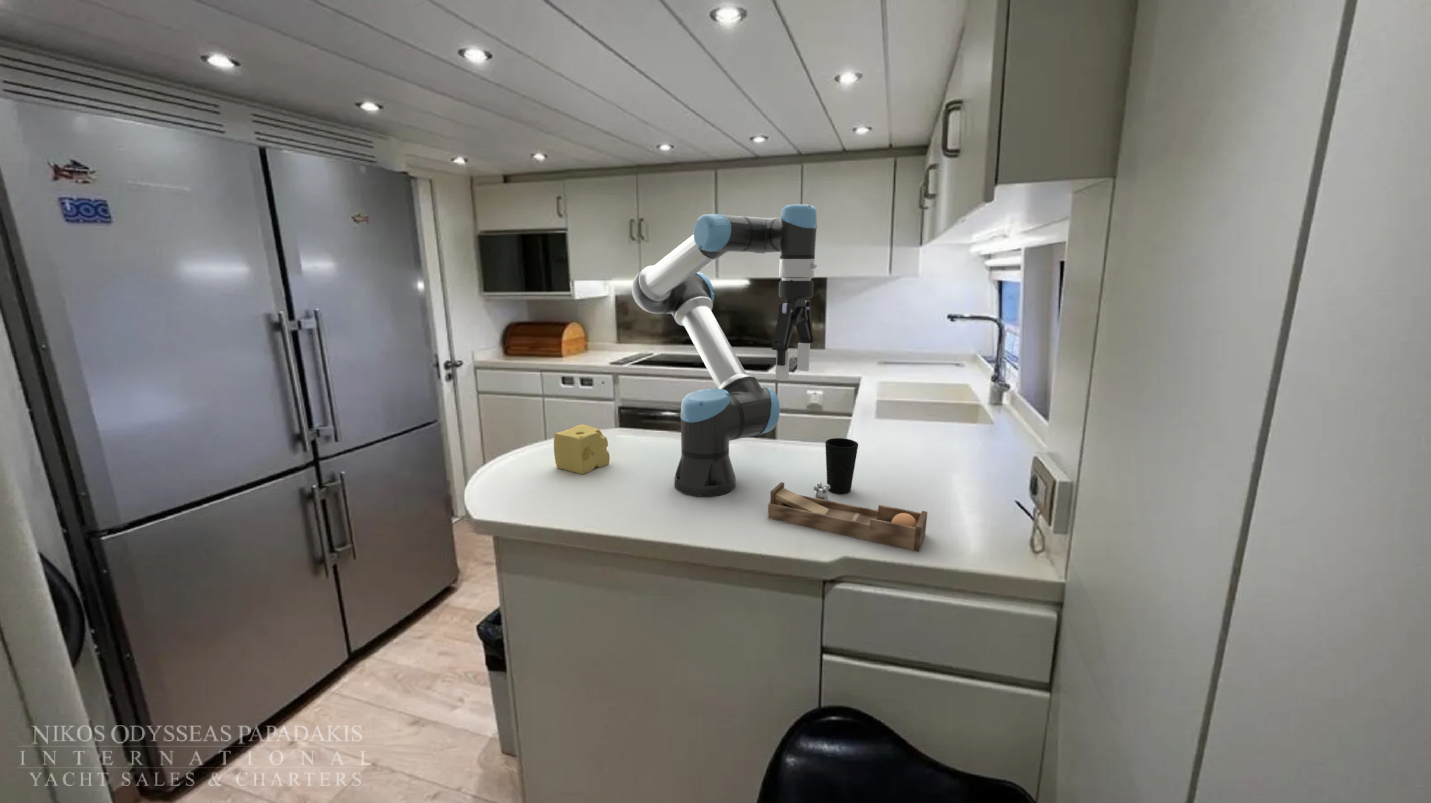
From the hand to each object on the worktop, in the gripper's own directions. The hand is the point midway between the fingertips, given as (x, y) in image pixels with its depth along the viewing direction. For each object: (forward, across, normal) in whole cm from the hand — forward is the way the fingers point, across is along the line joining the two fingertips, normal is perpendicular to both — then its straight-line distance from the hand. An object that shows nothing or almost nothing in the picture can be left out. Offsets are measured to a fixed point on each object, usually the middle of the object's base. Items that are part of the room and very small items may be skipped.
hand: (792, 375), depth 128 cm
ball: (+26, -11, -28) cm, 40 cm away
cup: (+29, +8, -10) cm, 32 cm away
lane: (+29, -11, -16) cm, 35 cm away
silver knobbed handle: (+29, -3, -9) cm, 30 cm away
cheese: (+29, -9, +56) cm, 64 cm away
